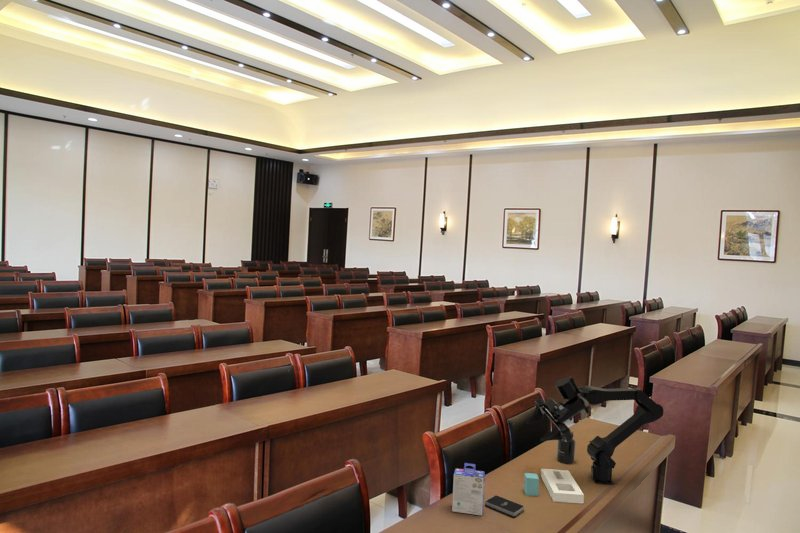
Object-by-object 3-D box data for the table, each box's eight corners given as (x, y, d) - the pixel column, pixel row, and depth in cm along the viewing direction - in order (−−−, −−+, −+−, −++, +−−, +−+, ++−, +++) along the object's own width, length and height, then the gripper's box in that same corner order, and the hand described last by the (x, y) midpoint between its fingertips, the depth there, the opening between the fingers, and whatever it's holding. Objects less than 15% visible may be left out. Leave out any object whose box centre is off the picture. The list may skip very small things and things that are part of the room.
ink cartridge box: (483, 508, 166) (485, 464, 165) (482, 516, 160) (485, 470, 160) (453, 504, 168) (455, 460, 167) (451, 512, 162) (453, 466, 162)
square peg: (535, 490, 180) (536, 473, 180) (538, 496, 176) (539, 478, 176) (523, 489, 181) (524, 472, 181) (525, 495, 176) (526, 478, 176)
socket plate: (568, 478, 192) (568, 470, 192) (583, 503, 172) (584, 494, 172) (541, 476, 192) (541, 468, 192) (553, 501, 172) (553, 492, 172)
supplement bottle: (556, 462, 207) (557, 432, 207) (557, 456, 213) (558, 428, 213) (573, 465, 204) (575, 435, 204) (574, 459, 211) (576, 430, 211)
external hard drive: (513, 519, 160) (514, 513, 160) (483, 507, 167) (484, 501, 167) (524, 512, 165) (524, 506, 165) (495, 500, 172) (495, 494, 172)
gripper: (548, 380, 193) (514, 402, 192) (579, 411, 177) (542, 435, 176) (556, 398, 199) (523, 420, 198) (586, 430, 183) (550, 454, 181)
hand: (534, 431), depth 188 cm, fingers open, 9 cm apart
